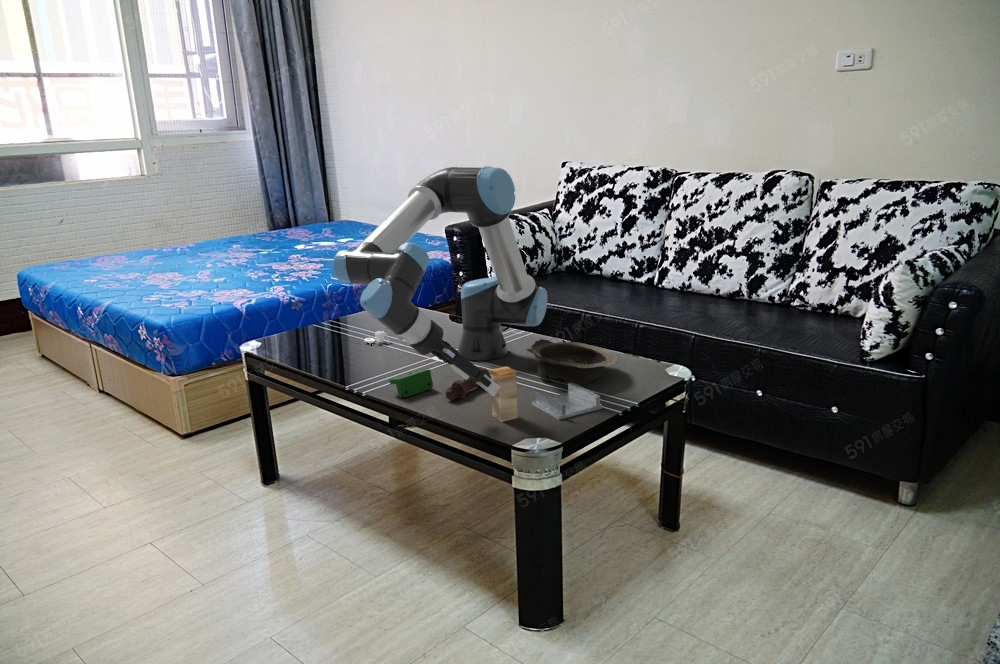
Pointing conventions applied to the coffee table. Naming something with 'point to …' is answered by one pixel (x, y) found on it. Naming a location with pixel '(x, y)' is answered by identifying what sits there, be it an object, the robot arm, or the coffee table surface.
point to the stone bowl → (571, 361)
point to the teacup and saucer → (377, 337)
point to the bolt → (463, 387)
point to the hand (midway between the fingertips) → (482, 383)
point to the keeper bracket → (568, 402)
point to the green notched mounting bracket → (413, 383)
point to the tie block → (505, 394)
